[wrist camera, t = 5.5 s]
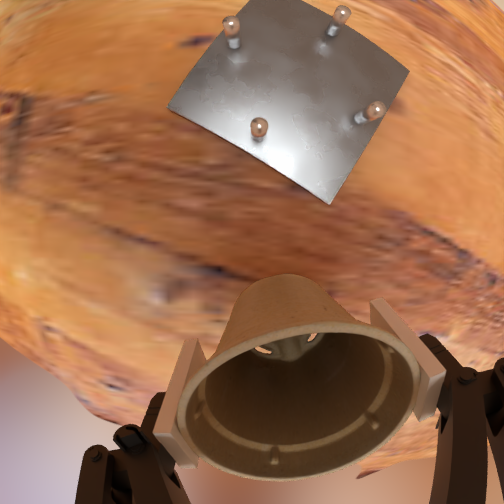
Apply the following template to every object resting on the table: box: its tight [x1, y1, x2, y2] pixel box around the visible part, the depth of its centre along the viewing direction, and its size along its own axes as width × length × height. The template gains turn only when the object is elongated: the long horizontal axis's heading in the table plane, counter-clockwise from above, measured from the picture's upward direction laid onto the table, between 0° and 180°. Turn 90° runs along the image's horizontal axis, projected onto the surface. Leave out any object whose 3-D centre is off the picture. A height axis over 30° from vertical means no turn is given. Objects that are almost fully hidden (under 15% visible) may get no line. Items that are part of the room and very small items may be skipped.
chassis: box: [166, 0, 410, 205], centre depth 19 cm, size 16×16×5 cm
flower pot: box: [177, 274, 421, 481], centre depth 13 cm, size 9×9×9 cm
